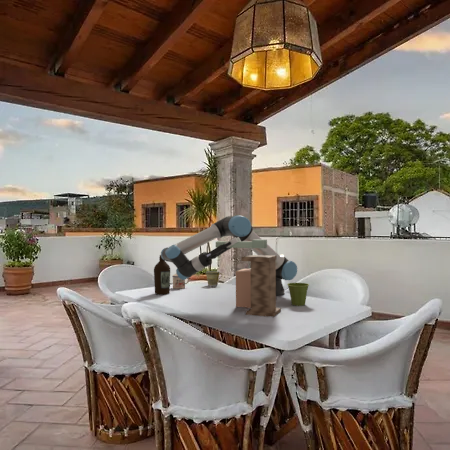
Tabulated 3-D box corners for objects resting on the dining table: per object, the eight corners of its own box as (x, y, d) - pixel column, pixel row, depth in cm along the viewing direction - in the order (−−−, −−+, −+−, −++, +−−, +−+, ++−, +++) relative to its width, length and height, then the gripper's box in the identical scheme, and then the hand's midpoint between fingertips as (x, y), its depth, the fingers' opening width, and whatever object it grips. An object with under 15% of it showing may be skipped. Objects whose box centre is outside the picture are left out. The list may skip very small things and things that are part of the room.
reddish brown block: (235, 306, 203) (235, 271, 204) (244, 301, 216) (244, 268, 217) (261, 308, 198) (260, 272, 198) (268, 303, 211) (268, 269, 211)
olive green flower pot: (203, 286, 276) (203, 272, 277) (210, 284, 285) (210, 270, 285) (219, 287, 270) (218, 273, 270) (225, 285, 279) (225, 271, 279)
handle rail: (214, 247, 195) (214, 239, 195) (219, 246, 200) (219, 239, 200) (263, 248, 185) (263, 240, 185) (267, 247, 191) (267, 239, 191)
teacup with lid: (174, 289, 262) (174, 272, 262) (170, 287, 270) (170, 271, 270) (191, 288, 267) (191, 271, 267) (186, 286, 276) (186, 270, 276)
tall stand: (241, 314, 185) (241, 257, 185) (250, 308, 198) (250, 255, 198) (273, 317, 179) (273, 257, 179) (280, 310, 192) (280, 255, 192)
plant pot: (283, 303, 210) (283, 283, 210) (301, 302, 215) (300, 282, 215) (295, 307, 199) (295, 286, 200) (313, 305, 204) (313, 284, 204)
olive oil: (150, 293, 246) (150, 255, 246) (164, 291, 253) (164, 254, 253) (160, 295, 238) (159, 255, 238) (173, 293, 245) (173, 254, 245)
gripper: (212, 265, 208) (247, 244, 201) (198, 269, 192) (235, 246, 185) (205, 253, 209) (240, 232, 202) (191, 256, 194) (228, 233, 186)
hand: (238, 239), depth 193 cm, fingers closed on handle rail, 4 cm apart
